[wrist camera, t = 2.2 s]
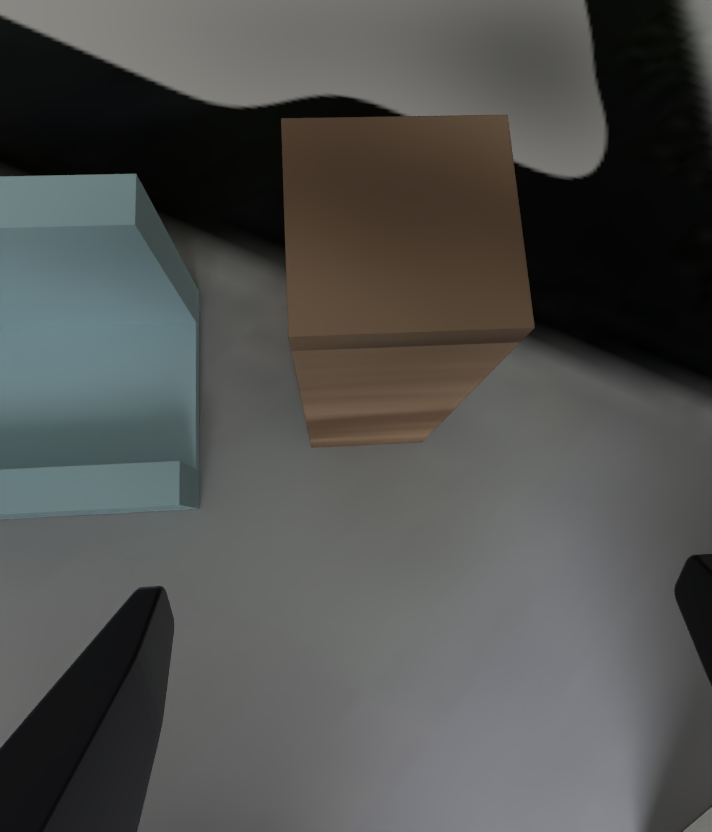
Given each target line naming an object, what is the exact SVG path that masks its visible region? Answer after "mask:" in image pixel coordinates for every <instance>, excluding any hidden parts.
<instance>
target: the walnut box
mask: <svg viewBox="0 0 712 832" xmlns="http://www.w3.org/2000/svg"><path fill="white" fill-rule="evenodd" d="M281 128H282V158H283V189H284V219H285V249H286V279H287V310H288V337H289V342H290V347H291V352H292V356H293V361H294V366H295V371H296V376H297V380H298V385H299V390H300V395H301V399H302V404H303V409H304V414H305V419H306V423H307V428H308V433H309V438H310V442H311V447H332V446H353V445H373V444H394V443H415V442H423V441H424V440H425V439H426V437H427V436H428V435H429V434H430V433H431V432H432V431H433V430H434V429H435V428H436V427H437V426H438V425H439V424H440V423H441V422H442V421H443V420H444V419H445V418H446V417H447V416H448V415H449V414H450V413H451V412H452V411H453V410H454V409H455V408H456V407H457V406H458V405H459V404H460V403H461V402H462V401H463V400H464V399H465V398H466V397H467V396H468V395H469V394H470V393H471V392H472V391H473V390H474V389H475V388H476V387H477V386H478V385H479V384H480V383H481V382H482V381H483V380H484V379H485V378H486V377H487V376H488V375H489V373H490V372H491V371H492V370H493V369H494V368H495V367H496V366H497V365H498V364H499V363H500V362H501V361H502V360H503V359H504V358H505V357H506V356H507V355H508V354H509V353H510V352H511V351H512V350H513V349H514V348H515V347H516V346H517V345H518V344H519V343H520V342H521V341H522V340H523V339H524V338H525V337H526V336H527V335H528V334H529V333H530V332H531V331H532V330H533V329H534V328H535V327H534V319H533V311H532V304H531V296H530V288H529V280H528V272H527V264H526V257H525V249H524V241H523V233H522V225H521V217H520V209H519V202H518V194H517V186H516V178H515V170H514V162H513V155H512V148H511V140H510V131H509V123H508V115H470V116H469V115H467V116H403V117H340V118H281Z"/></svg>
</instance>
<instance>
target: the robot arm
mask: <svg viewBox="0 0 712 832" xmlns="http://www.w3.org/2000/svg"><path fill="white" fill-rule="evenodd" d="M675 598H676V601H677V604H678V606H679V609H680V611H681V613H682V616H683V618H684V621H685V623H686V626H687V628H688V631H689V633H690V636H691V638H692V640H693V643H694V645H695V648H696V650H697V653H698V655H699V658H700V660H701V663H702V665H703V667H704V670H705V672H706V674H707V677H708V679H709V681H710V683H711V685H712V554H702V555H692V556H690V557H689V558H688V559H687V560H686V562H685V565H684V567H683V569H682V571H681V573H680V576H679V578H678V580H677V582H676V585H675ZM173 635H174V618H173V614H172V610H171V607H170V603H169V600H168V596H167V593H166V590H165V589H164V588H163V587H161V586H153V587H141V588H139V589H137V590H136V591H135V592H134V593H133V594H132V595H131V596H130V597H129V599H128V600H127V601H126V602H125V603H124V604H123V606H122V607H121V608H120V609H119V610H118V611H117V613H116V614H115V615H114V616H113V617H112V618H111V620H110V621H109V622H108V623H107V624H106V625H105V627H104V628H103V629H102V630H101V631H100V632H99V634H98V635H97V636H96V637H95V638H94V639H93V641H92V642H91V643H90V644H89V645H88V646H87V648H86V649H85V650H84V651H83V652H82V653H81V655H80V656H79V657H78V658H77V659H76V660H75V662H74V663H73V664H72V665H71V666H70V668H69V669H68V670H67V671H66V672H65V673H64V675H63V676H62V677H61V678H60V679H59V680H58V682H57V683H56V684H55V685H54V686H53V687H52V689H51V690H50V691H49V692H48V693H47V694H46V696H45V697H44V698H43V699H42V700H41V701H40V703H39V704H38V705H37V706H36V707H35V708H34V710H33V711H32V712H31V713H30V714H29V715H28V717H27V718H26V719H25V720H24V721H23V722H22V724H21V725H20V726H19V727H18V728H17V729H16V731H15V732H14V733H13V734H12V735H11V736H10V738H9V739H8V740H7V741H6V742H5V743H4V745H3V746H2V747H1V748H0V832H137V830H138V825H139V821H140V817H141V813H142V809H143V804H144V800H145V796H146V792H147V787H148V783H149V779H150V775H151V771H152V766H153V762H154V758H155V754H156V749H157V745H158V741H159V736H160V732H161V727H162V721H163V714H164V707H165V699H166V691H167V683H168V675H169V667H170V659H171V651H172V643H173Z"/></svg>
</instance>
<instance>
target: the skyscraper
mask: <svg viewBox="0 0 712 832" xmlns="http://www.w3.org/2000/svg"><path fill="white" fill-rule="evenodd" d="M683 832H712V807H711V808H710V809H709V810H707V811H706V812H705V813H704V814H703V815H702V816H700V817H699V818H698V819H697V820H696V821H695V822H693V823H692V824H691V825H690V826H689V827H688V828H686V829H685V830H684V831H683Z"/></svg>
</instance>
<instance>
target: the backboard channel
mask: <svg viewBox="0 0 712 832" xmlns="http://www.w3.org/2000/svg"><path fill="white" fill-rule="evenodd" d="M187 509H199V290H198V288H197V286H196V285H195V283H194V281H193V279H192V277H191V275H190V273H189V272H188V270H187V268H186V266H185V264H184V262H183V260H182V258H181V257H180V255H179V253H178V251H177V249H176V247H175V245H174V243H173V242H172V240H171V238H170V236H169V234H168V232H167V230H166V228H165V227H164V225H163V223H162V221H161V219H160V217H159V215H158V214H157V212H156V210H155V208H154V206H153V204H152V202H151V200H150V199H149V197H148V195H147V193H146V191H145V189H144V187H143V185H142V184H141V182H140V180H139V178H138V176H137V174H103V175H55V176H7V177H0V520H1V519H19V518H38V517H57V516H75V515H94V514H113V513H131V512H150V511H168V510H187Z"/></svg>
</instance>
